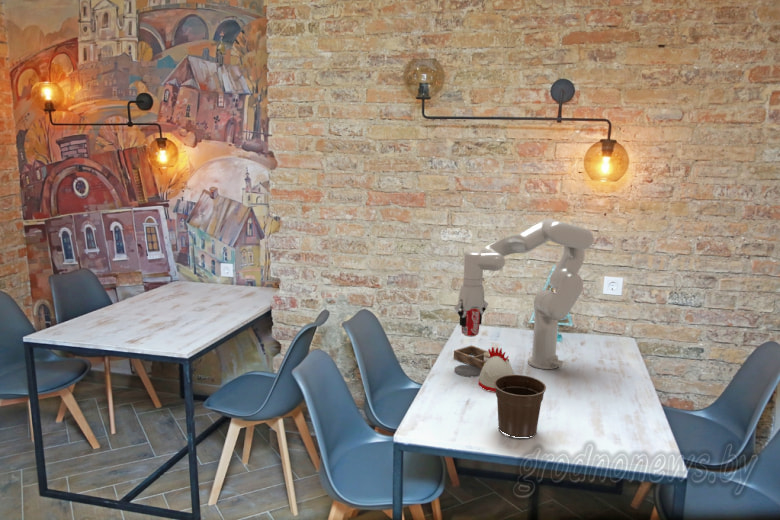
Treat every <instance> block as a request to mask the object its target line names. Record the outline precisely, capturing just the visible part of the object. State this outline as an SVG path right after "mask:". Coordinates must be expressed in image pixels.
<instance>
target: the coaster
mask: <svg viewBox="0 0 780 520" xmlns="http://www.w3.org/2000/svg"><path fill="white" fill-rule="evenodd" d="M453 370H454V371H453V372H454V373H455V374H456V375H459V376H463V377H467V376H468V378H469V377H470V378H471V376H473V377H479V376H480V373H481V369H480V368H478V367H476V366H472V365H468V364H461V365H458V366H455V367H454V369H453Z"/></svg>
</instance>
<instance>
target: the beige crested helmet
mask: <svg viewBox="0 0 780 520" xmlns="http://www.w3.org/2000/svg"><path fill="white" fill-rule="evenodd" d="M502 350H503V349H502V348H499V347H496V348H495V347H494V346H492V347H491V349H490V348H488V350H487V351H488V352H489V354H490V357H491V358H490V359H488V360H487V361H486V363H484V366H483V368H482V370H481V373H480V375H478V386H479V385H480V386H481V387H482V388H481V387H480V386H479V387H480V388H481V389H483V388H484V389H483V390H485V389H486V390H485V391H487V390H490V391H489V392H491V391H495V392H494V393H496V388H495V386H494V381H495V380H496V379H497V378H499V377H502V376H506V375H515V373H514V369H513V367H512V365H511V363H510V361H509V362H508V361H507V359H509V355H507V356H506V351H505V352H503V351H502ZM505 356H506V357H505Z"/></svg>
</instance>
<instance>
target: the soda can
mask: <svg viewBox="0 0 780 520" xmlns="http://www.w3.org/2000/svg"><path fill="white" fill-rule="evenodd" d="M463 312H464V311H463ZM465 317H466V327H463V326H461V333H462V335H464V336H466V337H469V338H471V337H476V336H477V335H479V332H480V324H479V322H480V310H479V309H478V308H471V310H470V311H467V313H466V315H465Z"/></svg>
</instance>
